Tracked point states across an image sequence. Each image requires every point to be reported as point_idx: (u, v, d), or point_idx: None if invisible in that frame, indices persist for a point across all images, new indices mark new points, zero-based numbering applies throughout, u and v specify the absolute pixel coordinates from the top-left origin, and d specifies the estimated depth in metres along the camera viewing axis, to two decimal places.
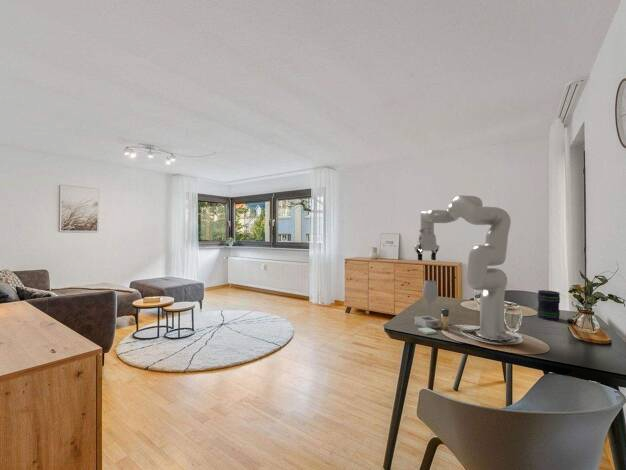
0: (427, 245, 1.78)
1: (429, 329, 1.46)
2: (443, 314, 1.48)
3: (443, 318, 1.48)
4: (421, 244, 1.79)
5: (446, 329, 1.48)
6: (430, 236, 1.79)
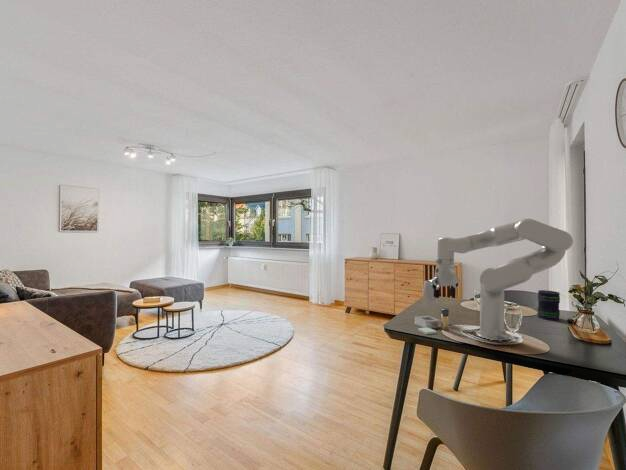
0: (445, 279, 1.46)
1: (429, 329, 1.46)
2: (443, 314, 1.48)
3: (443, 318, 1.48)
4: (438, 278, 1.46)
5: (446, 329, 1.48)
6: (449, 269, 1.47)
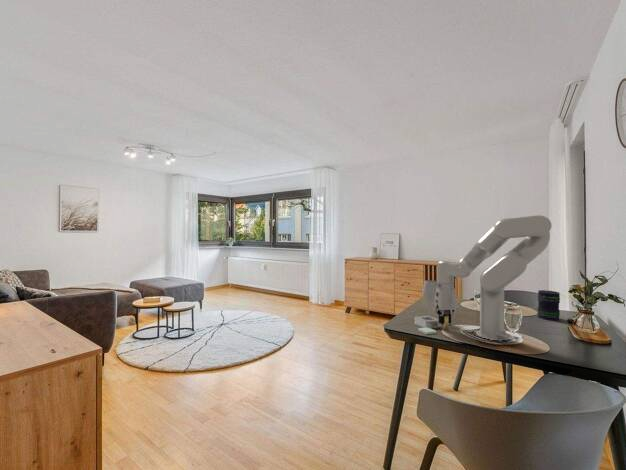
0: (446, 304, 1.46)
1: (429, 329, 1.46)
2: None
3: None
4: (438, 306, 1.46)
5: (446, 329, 1.48)
6: (449, 293, 1.47)
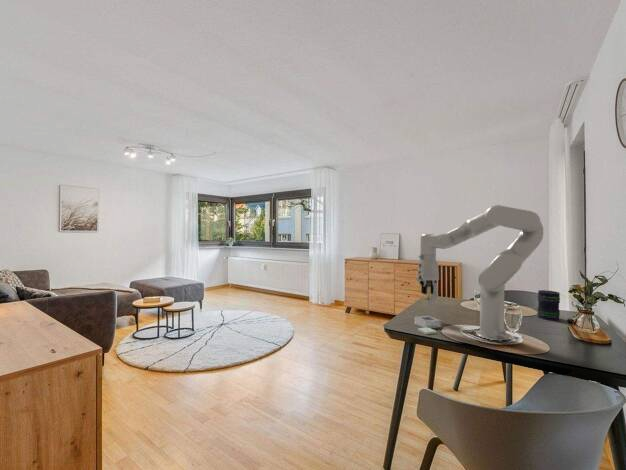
0: (428, 274, 1.52)
1: (429, 329, 1.46)
2: None
3: None
4: (421, 276, 1.53)
5: (428, 299, 1.54)
6: (431, 264, 1.53)
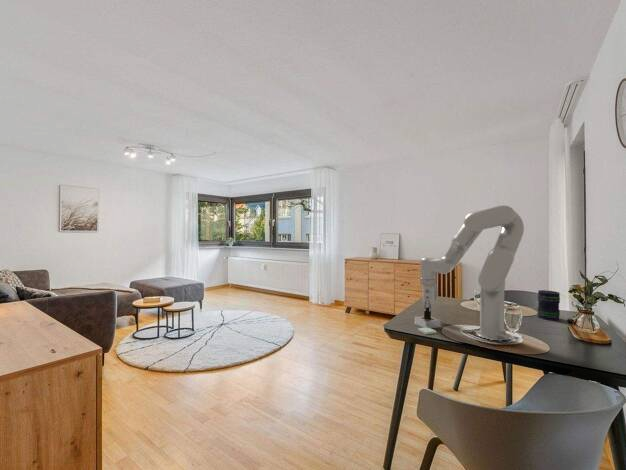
0: (433, 298, 1.53)
1: (429, 329, 1.46)
2: None
3: None
4: (430, 302, 1.50)
5: None
6: (433, 288, 1.54)
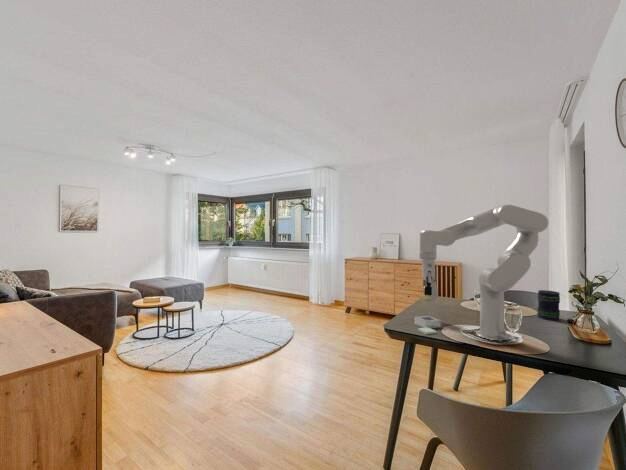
0: None
1: (429, 329, 1.46)
2: None
3: None
4: (432, 276, 1.40)
5: (430, 299, 1.45)
6: None
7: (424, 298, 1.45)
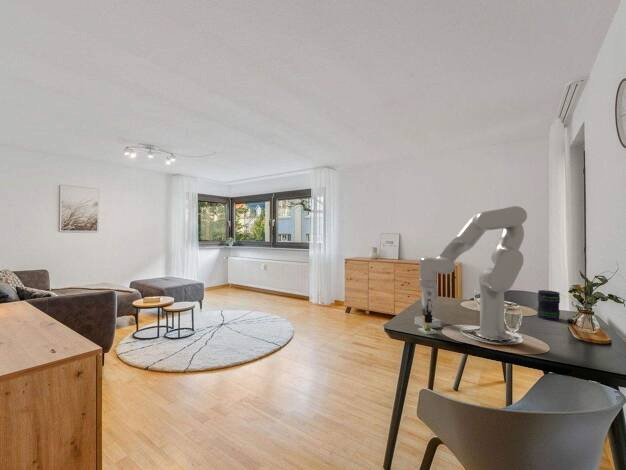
0: None
1: None
2: None
3: None
4: (432, 303, 1.40)
5: (430, 328, 1.45)
6: None
7: (424, 327, 1.45)
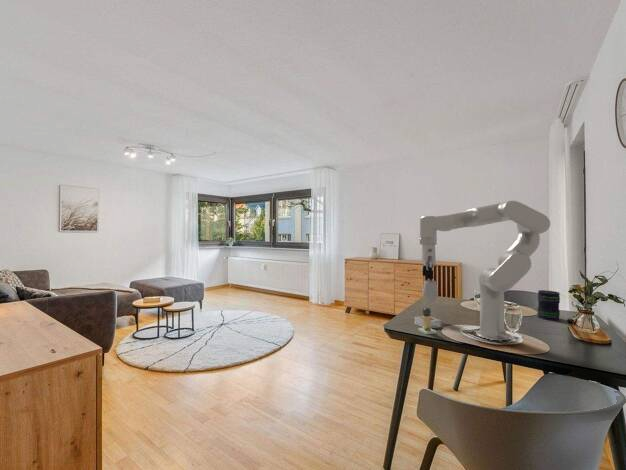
0: None
1: None
2: (428, 314, 1.44)
3: (428, 318, 1.44)
4: (432, 258, 1.40)
5: (430, 328, 1.45)
6: None
7: (424, 327, 1.45)
